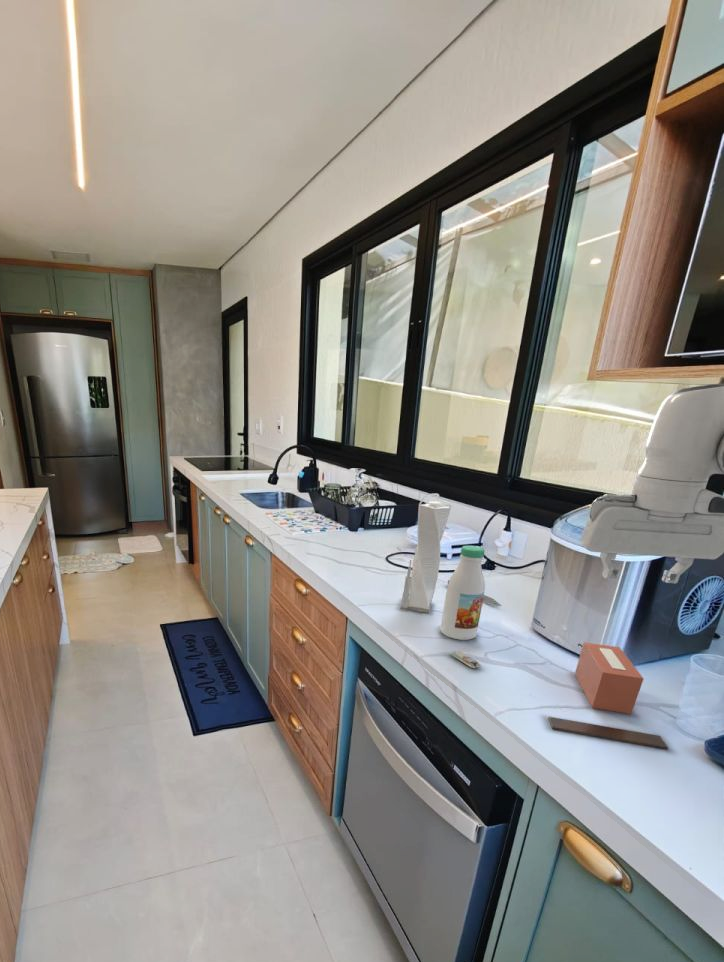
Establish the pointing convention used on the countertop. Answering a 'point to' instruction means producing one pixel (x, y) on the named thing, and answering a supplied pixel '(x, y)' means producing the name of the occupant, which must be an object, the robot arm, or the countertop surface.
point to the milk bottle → (464, 596)
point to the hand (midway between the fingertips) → (638, 580)
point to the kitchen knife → (489, 600)
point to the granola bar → (465, 659)
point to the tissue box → (608, 678)
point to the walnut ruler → (607, 732)
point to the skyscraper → (425, 556)
